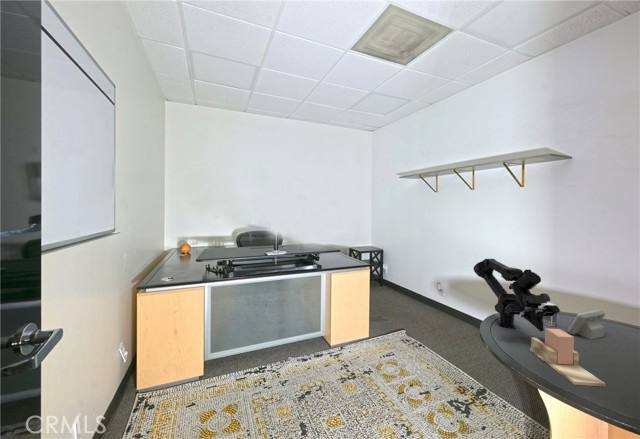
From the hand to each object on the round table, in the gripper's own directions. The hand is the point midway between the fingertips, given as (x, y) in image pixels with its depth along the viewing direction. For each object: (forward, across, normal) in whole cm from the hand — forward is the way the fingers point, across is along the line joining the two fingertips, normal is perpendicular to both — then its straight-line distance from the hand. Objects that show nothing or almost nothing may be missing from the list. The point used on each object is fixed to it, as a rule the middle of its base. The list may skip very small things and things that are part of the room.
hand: (542, 331), depth 99 cm
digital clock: (-6, +31, +17) cm, 35 cm away
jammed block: (+10, 0, -1) cm, 10 cm away
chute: (+13, 0, -2) cm, 13 cm away
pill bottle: (-12, +21, +23) cm, 33 cm away
